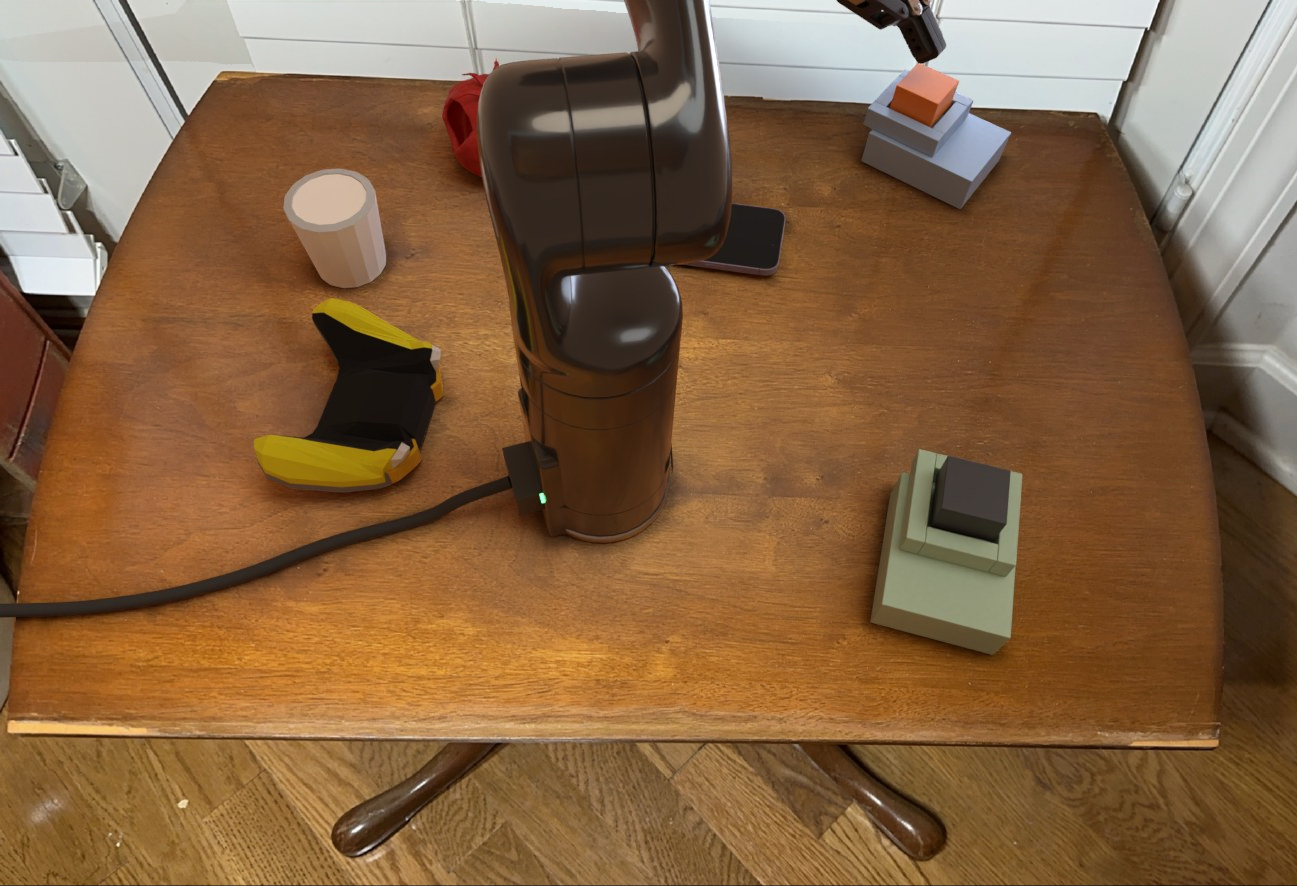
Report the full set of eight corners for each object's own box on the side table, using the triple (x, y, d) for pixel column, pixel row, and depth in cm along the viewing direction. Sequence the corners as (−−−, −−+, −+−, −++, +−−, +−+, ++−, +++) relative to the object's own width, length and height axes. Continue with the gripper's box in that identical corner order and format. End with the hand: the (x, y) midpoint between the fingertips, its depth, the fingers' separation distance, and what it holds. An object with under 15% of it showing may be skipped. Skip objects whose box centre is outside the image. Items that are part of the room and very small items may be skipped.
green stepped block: (992, 655, 59) (1021, 627, 55) (869, 622, 60) (889, 593, 56) (1004, 510, 65) (1031, 475, 61) (891, 483, 66) (910, 446, 61)
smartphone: (615, 187, 80) (787, 209, 78) (615, 197, 81) (785, 219, 79) (597, 247, 76) (777, 272, 74) (598, 257, 77) (776, 281, 75)
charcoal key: (992, 542, 58) (1007, 524, 56) (929, 526, 59) (941, 508, 57) (997, 489, 60) (1011, 470, 58) (936, 474, 61) (948, 455, 59)
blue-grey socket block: (999, 160, 84) (1019, 115, 80) (960, 209, 81) (979, 165, 76) (893, 111, 87) (907, 65, 83) (851, 157, 84) (864, 111, 80)
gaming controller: (265, 500, 64) (404, 521, 63) (236, 459, 59) (387, 482, 58) (336, 333, 72) (461, 350, 71) (316, 285, 67) (450, 303, 66)
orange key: (950, 105, 81) (959, 80, 79) (929, 129, 79) (938, 104, 77) (910, 87, 82) (918, 62, 80) (888, 110, 80) (896, 85, 78)
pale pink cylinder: (386, 224, 78) (367, 159, 72) (401, 283, 74) (382, 219, 68) (304, 242, 76) (277, 177, 71) (315, 302, 73) (288, 239, 67)
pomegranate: (492, 107, 86) (479, 15, 78) (582, 144, 84) (578, 54, 76) (428, 169, 81) (407, 78, 74) (521, 210, 79) (510, 121, 71)
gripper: (842, -156, 76) (931, 35, 83) (755, -89, 70) (859, 111, 77) (916, -209, 70) (1007, 2, 76) (828, -140, 64) (934, 82, 71)
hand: (932, 56), depth 77 cm, fingers closed
